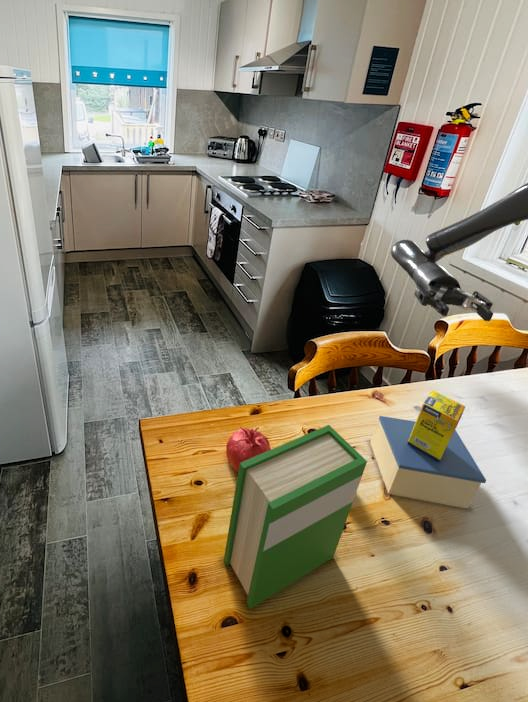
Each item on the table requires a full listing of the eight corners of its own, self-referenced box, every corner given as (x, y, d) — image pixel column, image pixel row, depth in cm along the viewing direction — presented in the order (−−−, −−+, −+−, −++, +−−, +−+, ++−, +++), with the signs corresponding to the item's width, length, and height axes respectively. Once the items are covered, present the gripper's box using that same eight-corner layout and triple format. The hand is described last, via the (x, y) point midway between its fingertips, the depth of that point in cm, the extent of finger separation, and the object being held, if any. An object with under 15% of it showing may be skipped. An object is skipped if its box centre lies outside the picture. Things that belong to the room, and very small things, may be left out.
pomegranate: (249, 494, 78) (255, 461, 74) (215, 458, 85) (219, 426, 82) (281, 469, 84) (289, 437, 80) (247, 437, 91) (252, 406, 87)
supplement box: (439, 463, 76) (458, 421, 72) (406, 444, 80) (422, 403, 76) (447, 446, 80) (466, 405, 76) (415, 428, 84) (431, 388, 80)
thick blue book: (438, 455, 88) (449, 429, 85) (467, 510, 77) (481, 482, 74) (369, 443, 91) (378, 418, 87) (387, 495, 79) (398, 468, 76)
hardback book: (249, 610, 61) (272, 509, 51) (223, 561, 67) (239, 462, 57) (332, 558, 68) (367, 461, 58) (302, 519, 74) (328, 424, 64)
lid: (453, 430, 85) (454, 427, 85) (485, 483, 74) (486, 480, 74) (378, 418, 87) (379, 415, 87) (398, 468, 76) (399, 465, 76)
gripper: (408, 265, 99) (437, 296, 85) (470, 271, 97) (511, 304, 83) (400, 291, 102) (427, 325, 88) (460, 298, 100) (497, 334, 86)
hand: (467, 315), depth 85 cm, fingers open, 8 cm apart
